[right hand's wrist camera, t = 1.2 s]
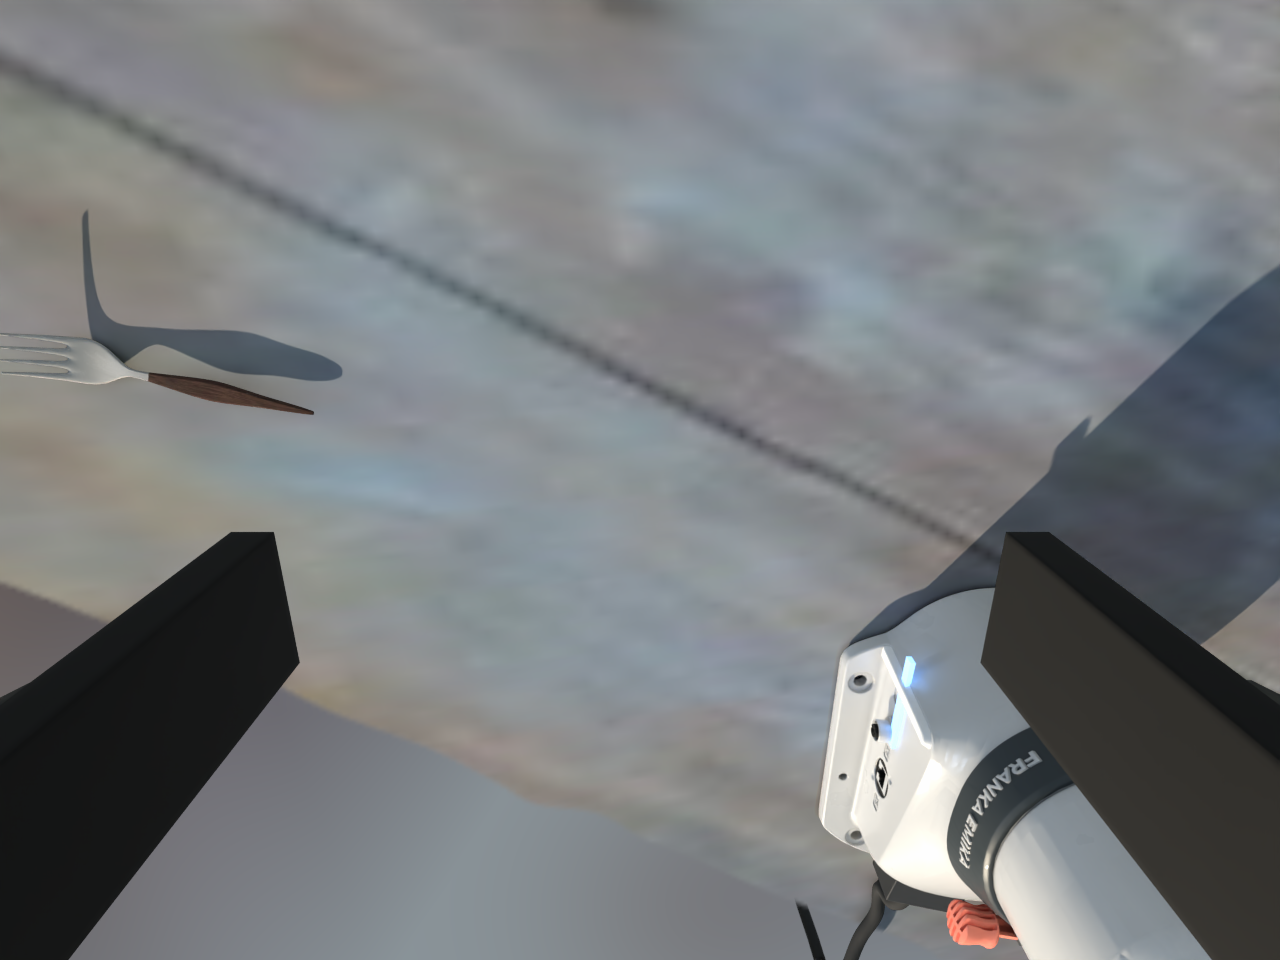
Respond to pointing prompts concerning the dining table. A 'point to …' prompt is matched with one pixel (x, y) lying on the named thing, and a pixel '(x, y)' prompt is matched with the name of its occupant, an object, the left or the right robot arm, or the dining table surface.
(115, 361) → the fork
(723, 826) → the dining table surface
